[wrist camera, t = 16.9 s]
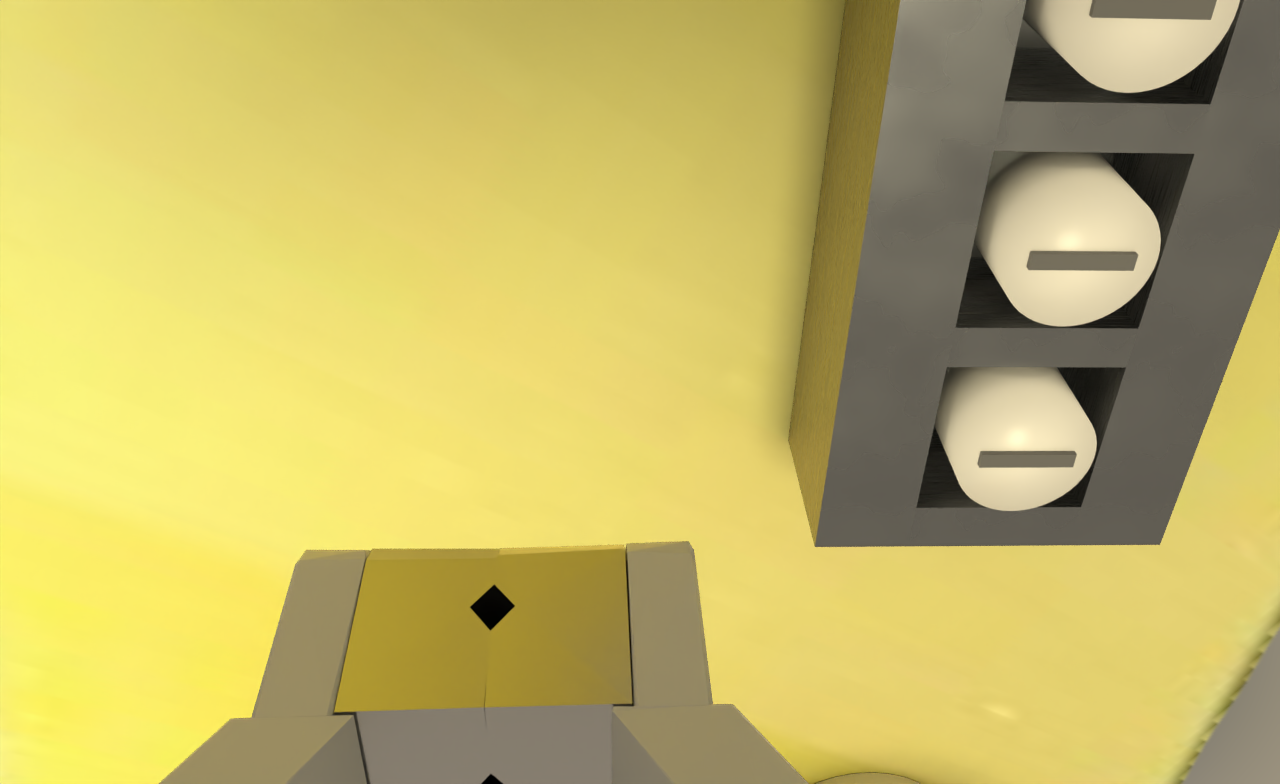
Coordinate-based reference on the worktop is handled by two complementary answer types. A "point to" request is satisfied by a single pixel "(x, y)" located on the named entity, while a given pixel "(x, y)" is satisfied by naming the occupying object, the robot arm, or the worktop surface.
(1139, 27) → the knob
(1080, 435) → the knob
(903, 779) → the reusable coffee cup
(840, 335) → the console
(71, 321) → the worktop surface
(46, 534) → the worktop surface
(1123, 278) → the middle knob
